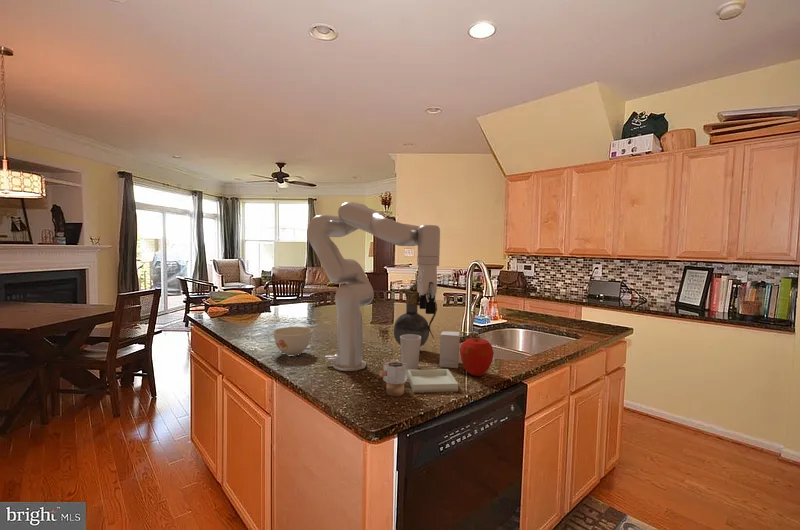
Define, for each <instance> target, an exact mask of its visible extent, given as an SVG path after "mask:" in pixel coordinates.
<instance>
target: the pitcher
mask: <svg viewBox="0 0 800 530" xmlns="http://www.w3.org/2000/svg"><path fill="white" fill-rule="evenodd" d="M417 285H418V283H414V284H412V285H411V284H410V285H409V288H401V289H398V292H402V293H404V295H405V305H406V310H405V313H403V314H401V315H399V317H398V318H397V319H396V320H395V323H394V325H393V337H394V340H395V341H396V343H397V344H398V345H399V346H401V341H400V336H401V335H406V334H413V335H419V336H421V344H420V348H421V347H422V346H424V345H425V344H426V343H427V341H428V339H429V336H430V335H431V337H432V338H433V339H435V337H434V335H433V332H432V330H431V325H432V322H433V321H434V318H435V317H436V314H437V312H438V304H437V302H436V305H435V314H432V317H431V319H430V321H429V322H428V321H427V319H426V318H425V316H423V315H421V314H419V313H418V306H419V304H420V298H421V297H420V293H418V292H417Z"/></svg>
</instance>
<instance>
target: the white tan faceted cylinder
mask: <svg viewBox="0 0 800 530" xmlns="http://www.w3.org/2000/svg"><path fill="white" fill-rule="evenodd" d="M390 366H393V367H399V366H401V364H390ZM385 383H386V382H385ZM385 393H386V395H388V396H391V397H392V396H393V397H399V396H400V397H401V396H403V395H404V394H405V383H402V384H389V383H386V388H385Z"/></svg>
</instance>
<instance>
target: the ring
mask: <svg viewBox="0 0 800 530" xmlns="http://www.w3.org/2000/svg"><path fill="white" fill-rule="evenodd" d="M390 364H401V366H399V367H393V366H390ZM379 376H380V377H382V379H383V380H382V381H384V382H385V383H389V384H402V383H404V384H405V383H406V382H407V381H408V377H407V364H406V363H404V362H402V361H400V360H392V361H391V360H390V361H386V362H385V363H383V370H381V371H379Z"/></svg>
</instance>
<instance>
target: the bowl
mask: <svg viewBox="0 0 800 530" xmlns="http://www.w3.org/2000/svg"><path fill="white" fill-rule="evenodd" d="M313 331H314V330H313V329H311V327H306V326H288V327H287V326H286V327H281V328H277V329H275V330H273V331H272V335H273V339H274V342H275V345H276V347H277V349H278V350H279V351H281V352H282V353H284V355H285V354H286V355H298V354H300V355H301V354H302V352H304V351H306V349H307V348H309V347H308V346H309V345H310V344H311V339H312V335H313ZM286 355H285V356H286Z"/></svg>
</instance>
